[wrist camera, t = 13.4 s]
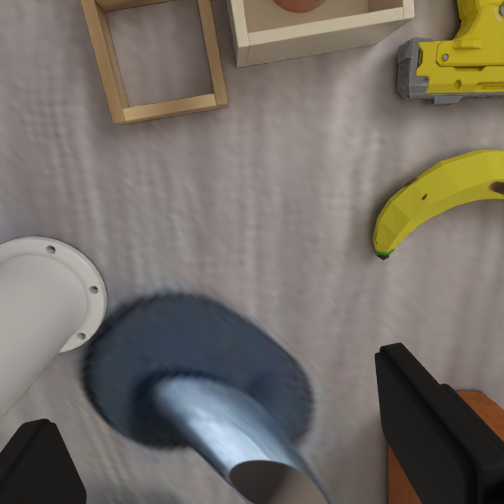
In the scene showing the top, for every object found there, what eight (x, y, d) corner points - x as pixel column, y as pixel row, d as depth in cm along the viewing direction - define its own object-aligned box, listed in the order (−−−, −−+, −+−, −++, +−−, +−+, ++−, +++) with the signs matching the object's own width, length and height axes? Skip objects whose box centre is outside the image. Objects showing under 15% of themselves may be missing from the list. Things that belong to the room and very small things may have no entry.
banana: (364, 223, 31) (420, 330, 37) (556, 109, 28) (582, 246, 34) (346, 206, 35) (400, 305, 41) (513, 105, 32) (543, 228, 38)
